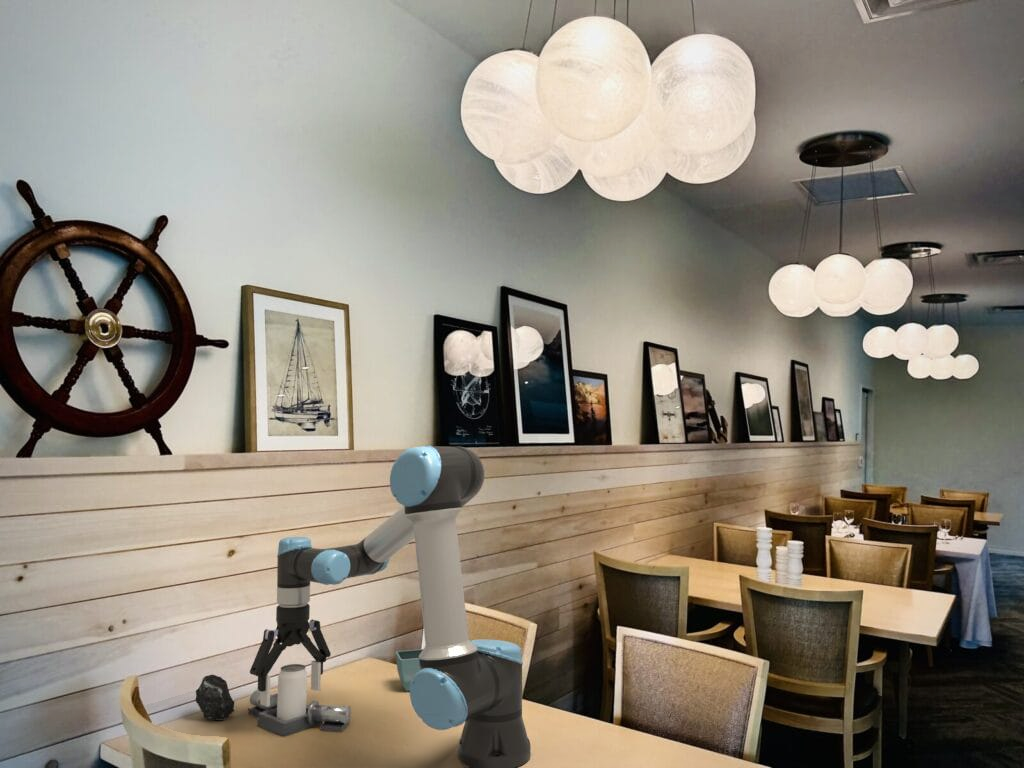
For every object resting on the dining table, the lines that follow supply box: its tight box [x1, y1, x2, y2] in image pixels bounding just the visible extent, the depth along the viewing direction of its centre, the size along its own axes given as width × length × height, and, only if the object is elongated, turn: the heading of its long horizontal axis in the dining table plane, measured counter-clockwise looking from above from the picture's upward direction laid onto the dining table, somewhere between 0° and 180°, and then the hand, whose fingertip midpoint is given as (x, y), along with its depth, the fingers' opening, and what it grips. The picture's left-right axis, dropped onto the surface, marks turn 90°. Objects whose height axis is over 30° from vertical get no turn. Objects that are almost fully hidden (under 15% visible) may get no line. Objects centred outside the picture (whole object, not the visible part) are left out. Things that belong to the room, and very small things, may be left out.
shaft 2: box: [307, 699, 352, 733], centre depth 169 cm, size 9×5×6 cm, turn 80°
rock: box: [195, 674, 235, 721], centre depth 175 cm, size 8×7×10 cm
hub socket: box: [257, 704, 324, 737], centre depth 171 cm, size 10×10×3 cm
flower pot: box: [395, 648, 424, 692], centre depth 197 cm, size 9×9×9 cm
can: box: [277, 663, 308, 721], centre depth 171 cm, size 6×6×12 cm
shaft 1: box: [247, 689, 278, 719], centre depth 177 cm, size 9×5×6 cm, turn 50°
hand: (291, 697), depth 171 cm, fingers open, 13 cm apart
